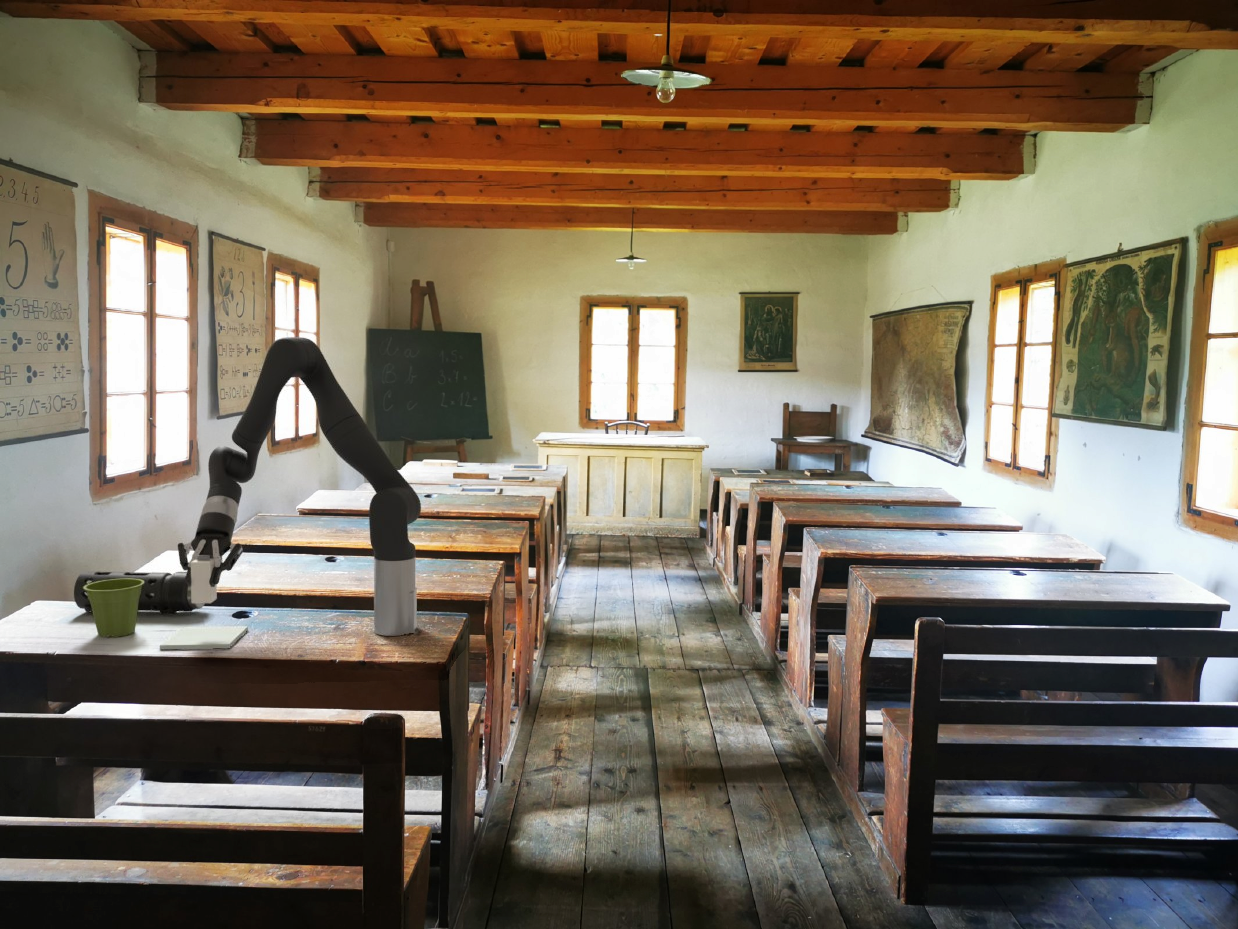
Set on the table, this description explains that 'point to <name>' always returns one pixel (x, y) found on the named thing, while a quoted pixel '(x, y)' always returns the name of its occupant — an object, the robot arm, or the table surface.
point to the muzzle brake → (145, 591)
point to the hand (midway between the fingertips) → (201, 584)
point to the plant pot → (114, 605)
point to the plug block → (202, 580)
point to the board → (204, 637)
